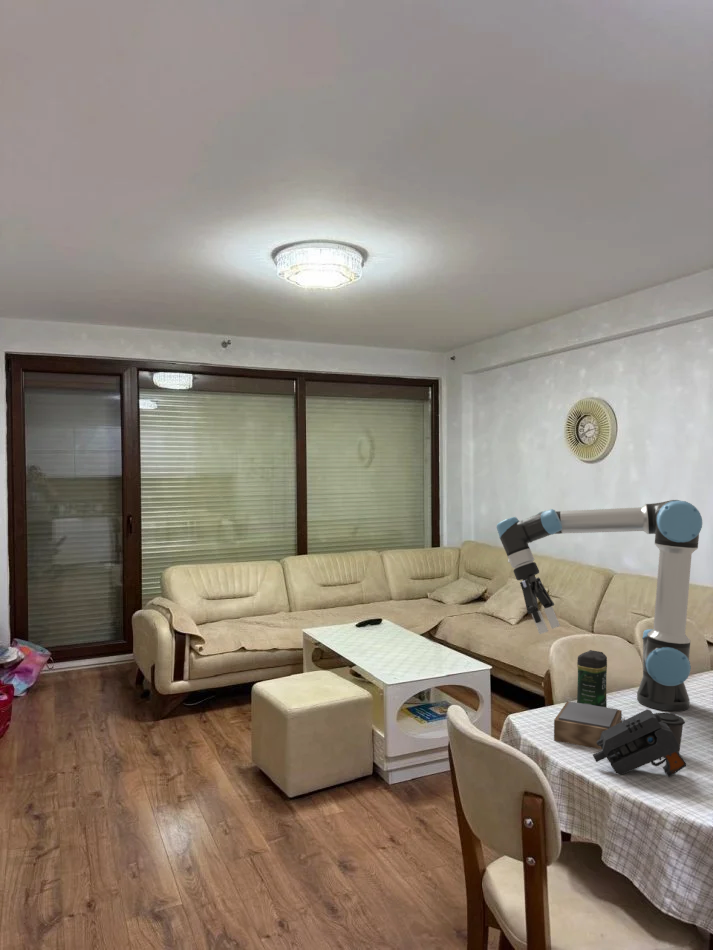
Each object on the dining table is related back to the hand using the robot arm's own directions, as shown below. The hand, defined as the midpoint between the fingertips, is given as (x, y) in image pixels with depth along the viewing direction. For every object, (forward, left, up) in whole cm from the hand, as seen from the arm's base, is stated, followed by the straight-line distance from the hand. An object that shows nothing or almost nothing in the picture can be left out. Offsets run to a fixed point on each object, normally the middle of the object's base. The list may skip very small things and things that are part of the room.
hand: (550, 630), depth 203 cm
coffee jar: (-12, -1, -24) cm, 27 cm away
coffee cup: (-34, +20, -24) cm, 46 cm away
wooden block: (-14, +17, -24) cm, 33 cm away
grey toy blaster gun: (-29, +35, -24) cm, 51 cm away
